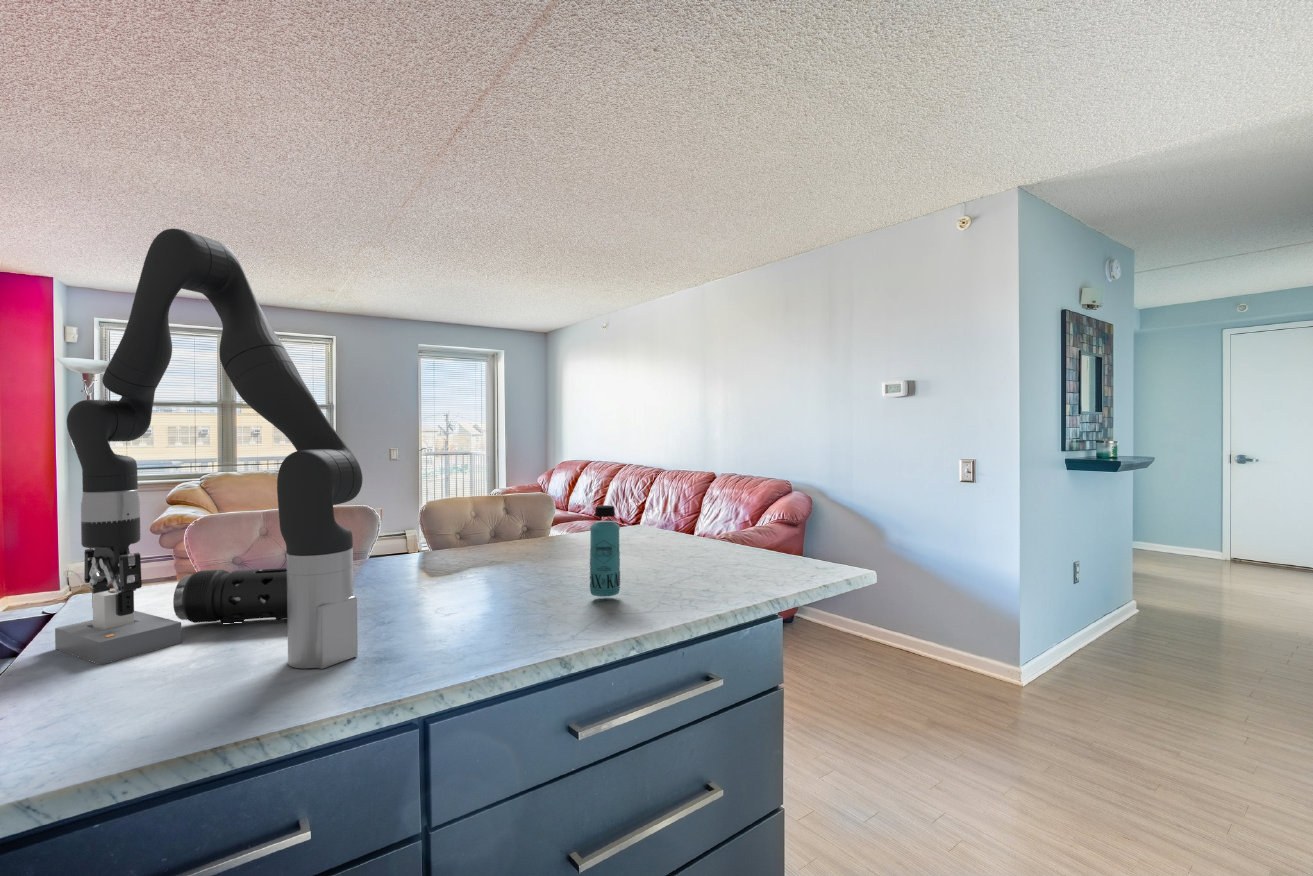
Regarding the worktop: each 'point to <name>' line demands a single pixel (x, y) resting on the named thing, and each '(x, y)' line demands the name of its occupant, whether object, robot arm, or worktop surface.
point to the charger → (108, 611)
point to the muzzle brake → (231, 595)
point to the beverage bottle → (604, 555)
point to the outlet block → (118, 638)
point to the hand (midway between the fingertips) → (113, 611)
